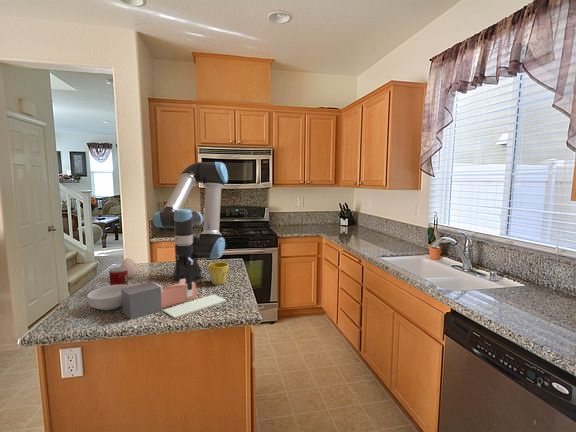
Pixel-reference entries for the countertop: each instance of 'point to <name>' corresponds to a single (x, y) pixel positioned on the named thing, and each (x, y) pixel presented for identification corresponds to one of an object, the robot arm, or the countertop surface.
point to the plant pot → (218, 272)
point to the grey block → (141, 299)
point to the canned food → (118, 276)
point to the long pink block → (176, 294)
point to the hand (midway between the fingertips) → (186, 294)
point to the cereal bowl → (106, 297)
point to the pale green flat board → (194, 306)
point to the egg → (129, 267)
